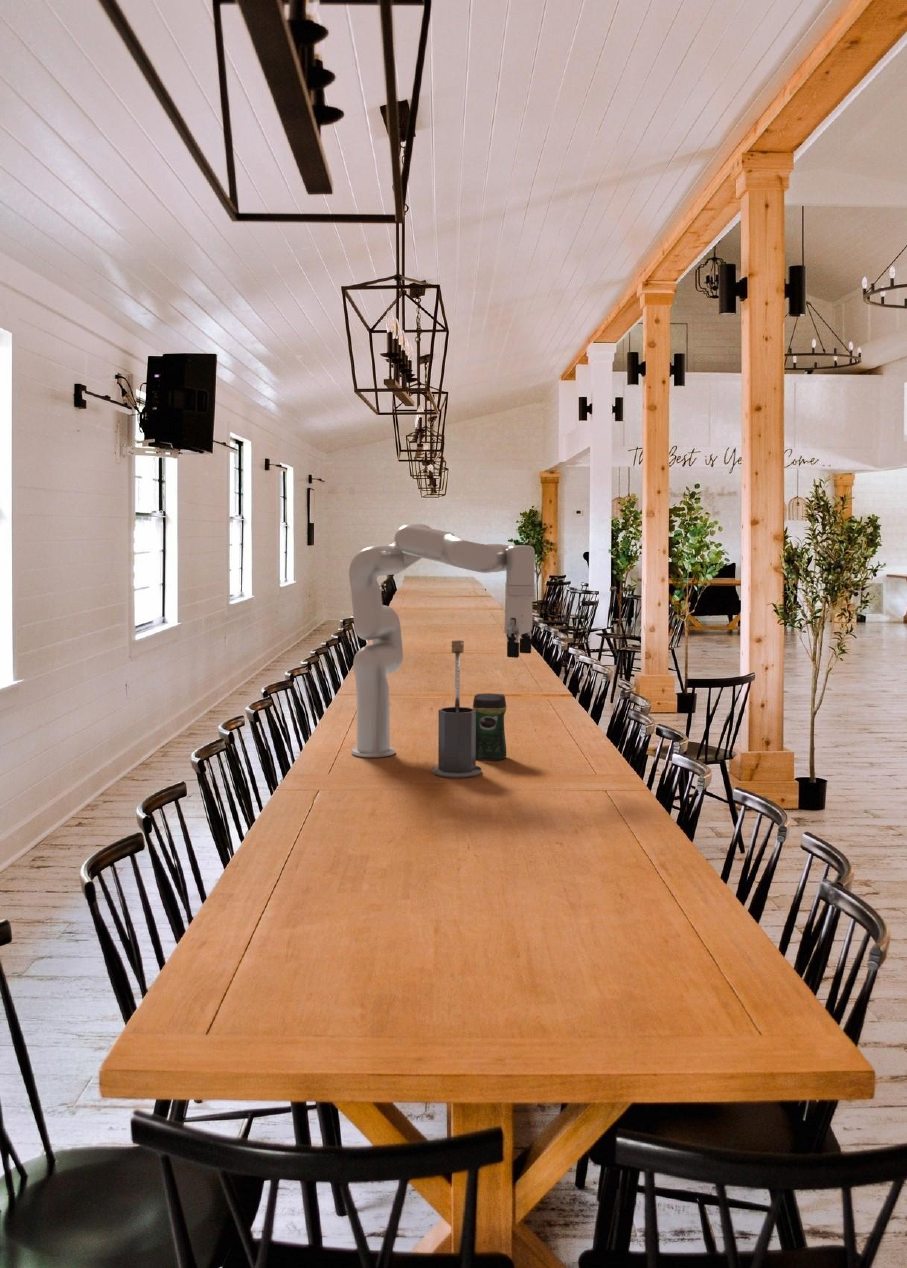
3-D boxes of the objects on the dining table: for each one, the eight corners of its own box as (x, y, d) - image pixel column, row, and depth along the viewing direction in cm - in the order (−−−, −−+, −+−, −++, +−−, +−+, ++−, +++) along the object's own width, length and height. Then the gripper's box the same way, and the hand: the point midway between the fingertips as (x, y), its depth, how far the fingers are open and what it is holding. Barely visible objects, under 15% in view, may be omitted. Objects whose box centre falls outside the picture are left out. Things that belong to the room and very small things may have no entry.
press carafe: (423, 768, 283) (423, 707, 281) (466, 764, 288) (466, 703, 286) (445, 780, 270) (445, 716, 268) (489, 775, 275) (490, 712, 274)
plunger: (439, 722, 279) (439, 640, 276) (463, 720, 282) (463, 639, 279) (450, 727, 272) (451, 643, 270) (475, 725, 275) (475, 641, 273)
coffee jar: (507, 755, 299) (508, 691, 297) (504, 761, 292) (505, 696, 290) (474, 754, 301) (474, 690, 299) (470, 760, 293) (471, 695, 291)
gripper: (517, 589, 287) (517, 650, 289) (495, 593, 271) (494, 658, 273) (543, 590, 284) (542, 652, 286) (522, 594, 268) (521, 659, 270)
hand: (519, 655), depth 279 cm, fingers open, 9 cm apart
